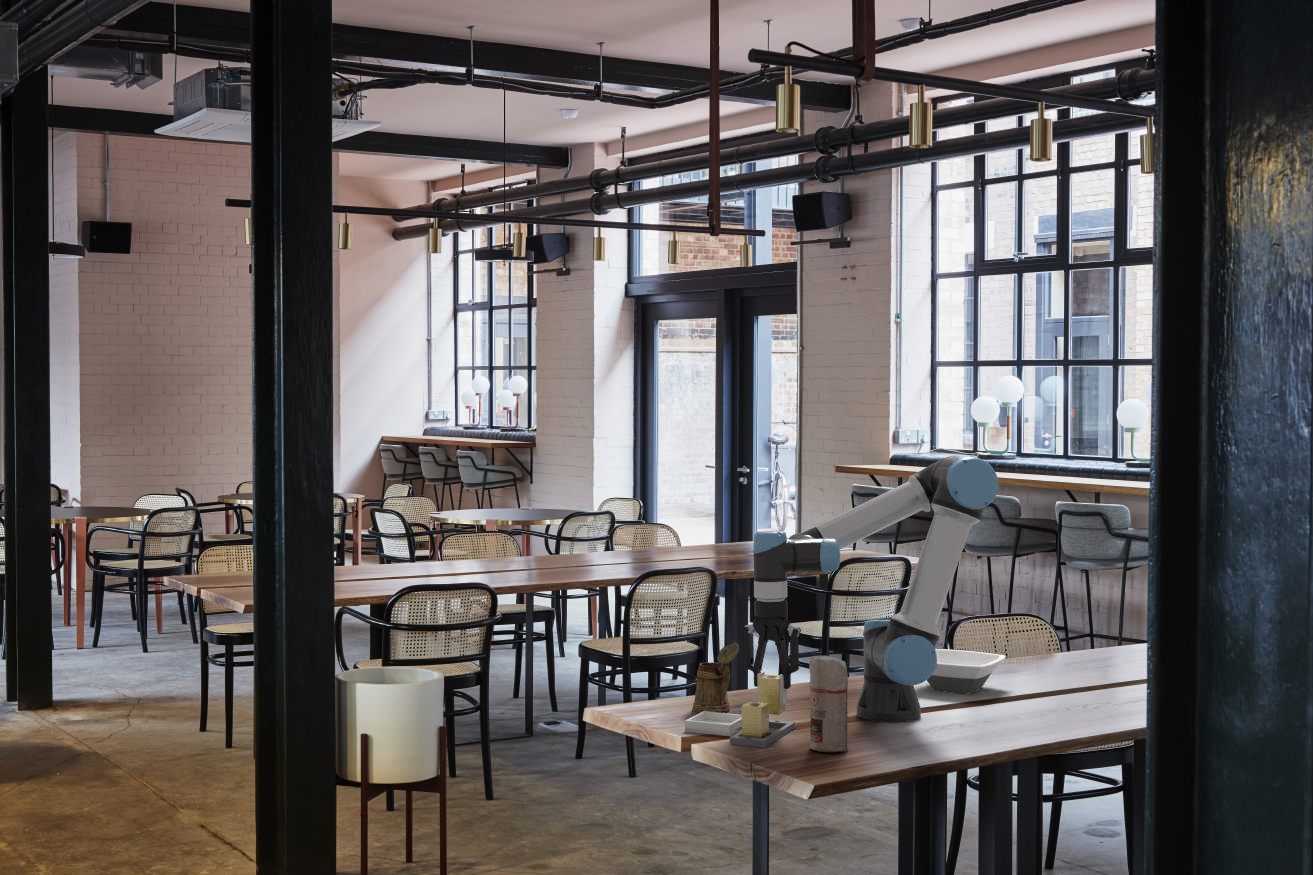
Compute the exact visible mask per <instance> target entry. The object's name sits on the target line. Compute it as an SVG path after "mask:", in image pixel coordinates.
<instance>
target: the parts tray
mask: <svg viewBox="0 0 1313 875" xmlns="http://www.w3.org/2000/svg"><path fill="white" fill-rule="evenodd" d="M740 731H742V714H737V713H728V712H725V713H718V712H708V711H703V712H701V713H699V712H698V714H696V715H692V717H689V718H688V719H686V720H684V732H686V733H695V734H696V733H697V734H705V735H715V736H722V737H723V736H724V737H731V736H733V735H735V734H737V733H738V732H740Z"/></svg>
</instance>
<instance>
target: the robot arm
mask: <svg viewBox="0 0 1313 875" xmlns="http://www.w3.org/2000/svg"><path fill="white" fill-rule="evenodd" d="M998 491H999V478H998V475H997V474H996V470H995V469H994V468H993V466H992V465H991V464H990V463H989V462H988V461H986V460H984V459H982V458H979V457H976V456H972V455H963V456H961V455H951V456H950V455H949V456H946V457H942V458H941V459H938V460H937V461H936V462H934V463H932V464H930V465H928V466H926V467H924V468H923V469H921V470H919V471H917V472H916V473H914V474H911V475H909V476H908V480H907V482H905V483H902V484H901V485H898V486H896V487H894V488H892V489H890V490H888V491H886V492H884V493H882V494H879V495H878V496H876V497H874V498H871V499H870V500H867V501H865V502H863V503H861V504H859V505H857V506H855V507H852V508H851V509H849V510H846V511H844V512H842V513H840V514H839V515H836V516H835V517H834V516H833V517H832V518H830V519H828V520H826V521H824V522H822V523H820V524H818V525H815V526H814V527H811V528H809V529H807V530H805V531H803V532H799V533H798V532H797V533H794V534H792V535H790V536H789V537H788V536H787V533H786V531H784V530H760V531H756V532H755V534H754V536H753V550H752V553H753V555H752V557H753V588H754V589H753V597H754V598H755V601H754V602H753V604H754V605H753V606H754V610H753V611H754V612H753V613H754V620H753V622H752V623H751V624H747V625H744V626H742V628H741V630H742V631H741V632H742V634H743V636H744V660H745V661H744V664H745V665H744V666H745V669H746V670H747V671H748V670H749V671H751V672H752V673H753V686H754V687H755V688H757V702H758V703H759V678H760V677H762V676H764V675H766V674H765V671H763V663H764V660H765V659H764V658H765V654H766V650H767V644H768V642H769V641H772V642H774V645H775V647H776V649H777V654H778V658H779V662H780V663H779V664H780V667H781V670H782V673H781V674H779V675H780V704H785V703H786V704H787V703H788V690H789V689H790V688H791V687H792V682H791V680H792V674H793V673H796V672H798V671H799V669H800V665H799V664H800V660H799V658H800V656H799V653H800V650H799V648H800V647H799V640H800V639H799V638H800V634H801V632H802V629H801V628H800V627H795V626H792V625H791V623H790V621H789V618H788V616H789V614H788V613H789V611H788V608H789V607H788V605H789V604H788V601H787V597H788V573H827V572H835V571H837V570H838V569H839V567H840V564H841V550H843V549H844V548H846V547H849V546H850V545H853V544H855V543H857V542H859V541H861V540H863V539H866V538H867V537H870V536H871V535H874V534H875V533H877V532H880V531H881V530H884V529H886V528H887V527H890V526H892V525H894V524H896V523H898V522H900V521H902V520H905V519H908V518H909V517H911V516H913V515H915V514H918V513H919V512H921V511H922V512H926V513H929V512H931V511H933V513H934V515H933V518H932V520H931V524H930V527H929V529H928V532H927V536H926V538H925V540H924V543H923V546H922V549H921V552H920V555H919V557H918V561H917V563H916V566H915V570H914V572H913V575H912V577H911V580H910V583H909V586H908V589H907V592H906V593H905V594H906V595H905V598H904V600H903V603H902V606H901V608H900V610H899V612H898V613H896V614H894V615H891V616H890V619H870V620H867V621H865V623H864V625H863V626H864V627H863V632H862V635H863V684H862V688H861V690H860V694H859V697H858V700H857V703H856V716H857V717H859V718H860V719H861V718H862V719H864V720H868V721H874V722H875V721H876V722H883V723H884V722H887V723H897V722H898V723H900V722H901V723H902V722H912V721H917V720H919V719H920V718H921V717H922V716H921V713H922V709H921V704H920V702H919V698H918V695H917V692H916V689H915V686H917V685H920V684H922V683H924V682H925V681H926V682H927V679H928V678H929V677H930V676H931V675H932V674H933V672H934V670H935V668H936V665H937V654H936V650H935V649H937V645H938V643H939V639H940V636H941V633H940V631H939V629H938V626H937V624H938V622H939V619H940V615H941V614H942V611H943V607H944V605H945V604H944V603H945V602H946V599H947V597H948V593H949V590H950V587H951V585H952V581H953V579H954V576H955V573H956V570H957V568H958V564H959V562H960V559H961V556H962V553H963V551H964V547H965V545H966V542H967V539H968V536H969V533H970V531H971V528H972V526H974V525H976V524H978V523H980V522H981V520H982V516H983V514H984V511H985V508H986V507H988V506H989V505H990V504H991V503H993V501H994V500H995V498H996V496H997V495H998ZM754 632H756V633H757V635H758V639H757V647H756V648H757V649H756V653H755V651H754V650H755V649H754V647H755V646H754V645H755V644H754ZM786 633H788V636H789V654H788V651H787V647H786V640H785V635H786ZM788 655H789V656H788Z"/></svg>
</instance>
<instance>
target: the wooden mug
mask: <svg viewBox="0 0 1313 875" xmlns="http://www.w3.org/2000/svg"><path fill="white" fill-rule="evenodd" d="M739 650H740V645H739V643H738V642H736V641H732V642H729V643H727V644H726V645H725V646H723V647H722V648H721V649H720V650H719V651H718V653H717V656H716V660H717V662H711V661H710V662H708V661H707V662H706V661H705V662H700V663H699V665H698V669H697V672H696V676H697V680H696V686H695V687H696V688H695V692H694V693H695V694H694V702H693V705H692V708H691V709H692V711H693V712H695V713H698V714H699V713H701V712H703V711H708V712H718V713H728V712H730V710H731V703H730V701H729V697H728V690H729V685H730V682H731V671H730V667H729V664H730V663H731V662H733V660H734V659H735V658H736V657H737V655H738V653H739Z"/></svg>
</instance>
